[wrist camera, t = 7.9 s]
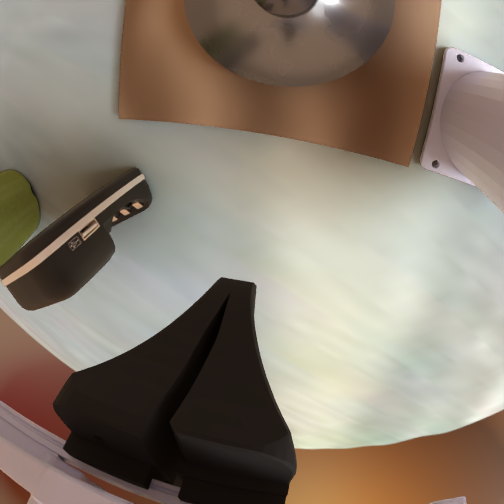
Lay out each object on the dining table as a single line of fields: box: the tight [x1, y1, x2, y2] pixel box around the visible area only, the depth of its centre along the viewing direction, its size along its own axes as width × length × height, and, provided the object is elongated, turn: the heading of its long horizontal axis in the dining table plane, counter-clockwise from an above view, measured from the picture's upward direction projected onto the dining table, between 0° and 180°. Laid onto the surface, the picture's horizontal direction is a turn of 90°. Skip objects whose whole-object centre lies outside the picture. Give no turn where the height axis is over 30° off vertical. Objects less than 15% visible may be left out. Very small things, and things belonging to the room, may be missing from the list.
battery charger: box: [0, 168, 152, 311], centre depth 19 cm, size 7×4×11 cm, turn 116°
